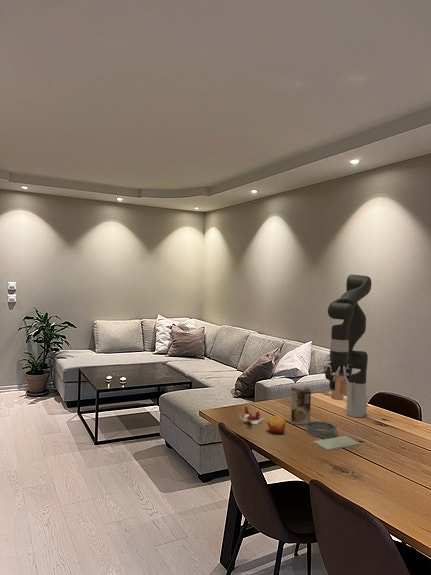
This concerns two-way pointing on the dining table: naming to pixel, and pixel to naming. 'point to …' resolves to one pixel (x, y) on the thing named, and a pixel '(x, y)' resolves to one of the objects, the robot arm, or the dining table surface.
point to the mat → (336, 443)
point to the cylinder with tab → (339, 388)
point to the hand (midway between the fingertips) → (337, 389)
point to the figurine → (251, 417)
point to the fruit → (276, 424)
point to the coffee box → (300, 405)
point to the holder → (321, 433)
